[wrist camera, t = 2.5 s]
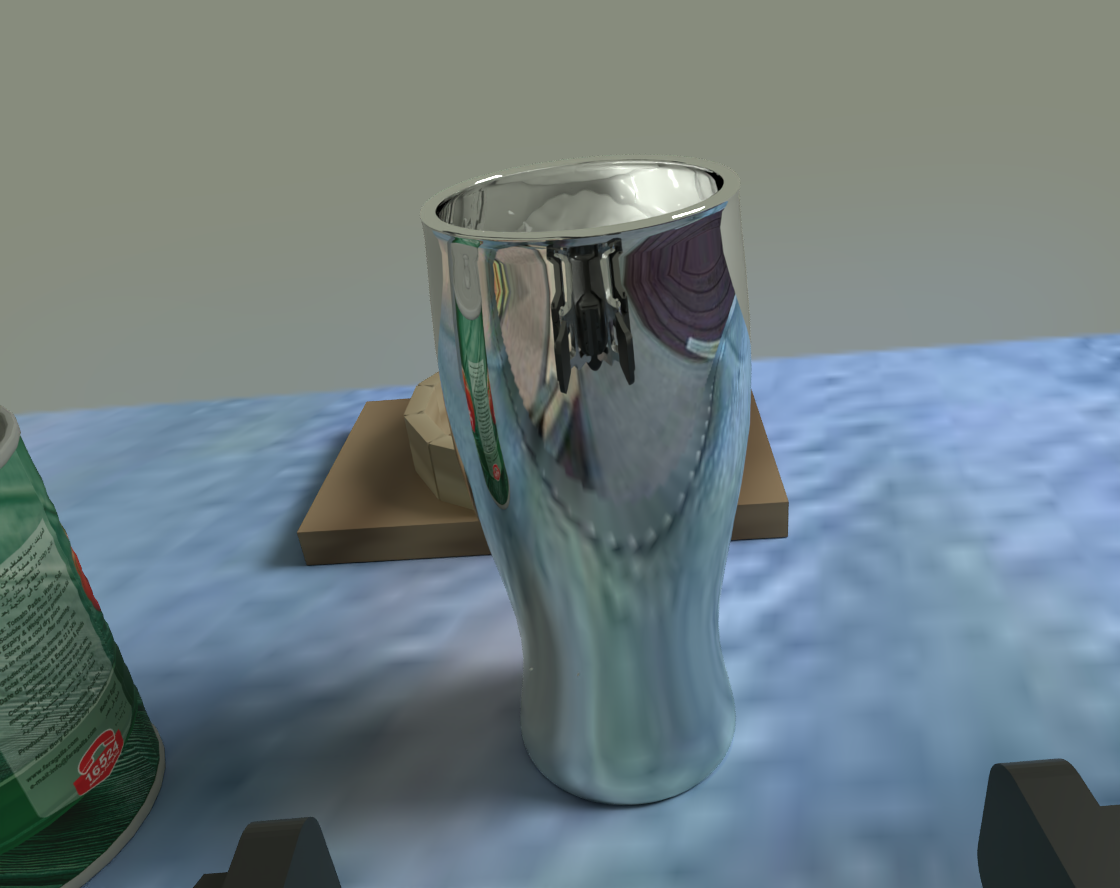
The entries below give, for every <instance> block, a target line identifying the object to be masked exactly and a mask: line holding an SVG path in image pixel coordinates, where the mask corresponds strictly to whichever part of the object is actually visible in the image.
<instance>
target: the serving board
mask: <svg viewBox="0 0 1120 888" xmlns="http://www.w3.org/2000/svg"><path fill="white" fill-rule="evenodd" d="M788 507H789V502H788V498H787V495H786V492H785V489H784V486H783V483H782V480H781V477H780V474H779V471H778V468H777V465H776V462H775V459H774V456H773V453H772V450H771V447H770V444H769V441H768V438H767V435H766V432H765V429H764V426H763V423H762V420H761V417H760V414H759V411H758V408H757V405H756V402H755V399H754V396H753V393H752V390H751V404H750V427H749V435H748V442H747V450H746V457H745V465H744V472H743V479H742V485H741V490H740V495H739V500H738V506H737V511H736V516H735V521H734V527H733V532H732V537H731V540H740V539H757V538H774V537H788ZM297 534H298V538H299V541H300V544H301V548H302V551H303V554H304V558H305V561H306V564H307V565H317V564H333V563H350V562H367V561H384V560H401V559H418V558H435V557H452V556H469V555H486V554H491V552H490V549H489V547H488V544H487V542H486V539H485V537H484V534H483V531H482V529H481V526H480V524H479V521H478V519H477V516H476V513H475V511H474V508H473V506H472V503H471V500H470V497H469V494H468V491H467V488H466V485H465V482H464V479H463V475H462V472H461V469H460V466H459V463H458V460H457V457H456V454H455V450H454V446H453V441H452V437H451V432H450V428H449V423H448V419H447V414H446V410H445V405H444V401H443V395H442V389H441V382H440V375H439V372H437V373H435V374H434V375H432V376H431V377H429V378H427V379H426V380H424V381H423V382H421V383H419V384H418V386H416V388H415V390H414V393H413V395H412V397H411V398H410V399H397V400H383V401H370V402H366V404H365V406H364V408H363V410H362V411H361V413H360V415H359V417H358V419H357V421H356V423H355V425H354V426H353V428H352V430H351V432H350V434H349V436H348V438H347V440H346V441H345V443H344V445H343V447H342V449H341V451H340V453H339V455H338V457H337V458H336V460H335V462H334V464H333V466H332V468H331V470H330V472H329V473H328V475H327V477H326V479H325V481H324V483H323V485H322V487H321V488H320V490H319V492H318V494H317V496H316V498H315V500H314V502H313V503H312V505H311V507H310V509H309V511H308V513H307V515H306V517H305V518H304V520H303V522H302V524H301V526H300V528H299V530H298V532H297Z"/></svg>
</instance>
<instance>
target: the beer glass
mask: <svg viewBox="0 0 1120 888" xmlns="http://www.w3.org/2000/svg"><path fill="white" fill-rule="evenodd" d="M739 189H740V179H739V176H738V175H737V173H736V172H735V171H733V170H732V169H731V168H729V167H726V166H725V165H722V164H719V163H716V162H713V161H709V160H705V159H700V158H693V157H686V156H674V155H655V154H653V155H652V154H633V155H632V154H629V155H607V156H593V157H582V158H572V159H563V160H556V161H549V162H542V163H536V164H531V165H526V166H520V167H515V168H510V169H506V170H501V171H497V172H493V173H490V174H486V175H482V176H479V177H476V178H472V179H469V180H466V181H464V182H461V183H458V184H456V185H453V186H451V187H449V188H447V189H444V190H443V191H441V192H439V193H437V194H436V195H434V196H433V197H431V198H430V199H429V200H427V201H426V202H425V203H424V205H423V206H422V208H421V211H420V219H421V222H422V225H423V231H424V238H425V248H426V257H427V269H428V281H429V293H430V304H431V313H432V322H433V331H434V340H435V349H436V355H437V362H438V368H439V375H440V382H441V389H442V395H443V401H444V405H445V410H446V414H447V419H448V423H449V428H450V432H451V437H452V441H453V446H454V450H455V454H456V457H457V460H458V463H459V466H460V469H461V472H462V475H463V479H464V482H465V485H466V488H467V491H468V494H469V497H470V500H471V503H472V506H473V508H474V511H475V513H476V516H477V519H478V521H479V524H480V526H481V529H482V531H483V534H484V537H485V539H486V542H487V544H488V547H489V549H490V552H491V554H492V557H493V559H494V562H495V564H496V567H497V569H498V571H499V574H500V576H501V579H502V581H503V584H504V586H505V589H506V592H507V594H508V597H509V600H510V603H511V605H512V608H513V611H514V614H515V616H516V620H517V624H518V629H519V633H520V637H521V643H522V652H523V679H522V692H521V708H520V724H521V733H522V738H523V742H524V745H525V748H526V750H527V752H528V754H529V756H530V758H531V760H532V761H533V763H534V764H535V766H536V767H537V768H538V769H539V770H540V772H541V773H542V774H543V775H544V776H545V777H546V778H548V779H549V780H550V781H551V782H553V783H554V784H555V785H557V786H558V787H560V788H562V789H563V790H565V791H567V792H569V793H571V794H573V795H576V796H578V797H581V798H584V799H587V800H590V801H594V802H599V803H605V804H615V805H635V804H645V803H651V802H656V801H660V800H664V799H667V798H670V797H673V796H676V795H678V794H680V793H683V792H685V791H687V790H689V789H690V788H692V787H694V786H695V785H697V784H698V783H700V782H701V781H703V780H704V779H705V778H706V777H707V776H709V775H710V774H711V773H712V772H713V771H714V770H715V769H716V768H717V766H718V765H719V764H720V763H721V761H722V760H723V758H724V757H725V755H726V753H727V752H728V750H729V747H730V745H731V742H732V739H733V736H734V732H735V726H736V711H735V702H734V697H733V692H732V688H731V684H730V681H729V677H728V673H727V669H726V666H725V662H724V658H723V654H722V649H721V644H720V635H719V605H720V595H721V589H722V583H723V577H724V571H725V566H726V561H727V556H728V551H729V546H730V541H731V537H732V532H733V527H734V521H735V516H736V511H737V506H738V500H739V495H740V490H741V485H742V479H743V472H744V465H745V457H746V450H747V442H748V435H749V427H750V404H751V375H752V364H751V338H750V337H751V336H750V313H749V300H748V288H747V275H746V263H745V254H744V244H743V234H742V224H741V211H740V194H739Z"/></svg>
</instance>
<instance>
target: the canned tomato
mask: <svg viewBox="0 0 1120 888" xmlns="http://www.w3.org/2000/svg"><path fill="white" fill-rule="evenodd" d="M20 434H21V431H20V428H19V425H18V423H17V420H16V417H15V416H14V414H13V413H11V412H10V411H9V410H7V409H6V408H4V407H3V406H1V405H0V888H80V887H81V886H83V885H84V884H85V883H87V882H88V881H89V880H90V879H91V878H92V877H93V876H95V875H96V874H97V873H98V872H99V871H100V870H101V869H102V868H104V867H105V866H106V865H107V864H108V863H109V862H110V861H112V859H113V858H114V857H115V856H116V855H117V854H118V853H119V852H120V850H121V849H122V848H123V847H124V846H125V845H126V844H127V843H128V841H129V840H130V839H131V838H132V837H133V836H134V834H135V833H136V831H137V830H138V828H139V827H140V825H141V824H142V822H143V821H144V820H145V818H146V817H147V815H148V814H149V812H150V811H151V808H152V806H153V804H154V802H155V800H156V797H157V795H158V793H159V791H160V788H161V785H162V780H163V776H164V771H165V750H164V745H163V742H162V740H161V738H160V735H159V733H158V730H157V729H156V727H155V726H154V725H153V724H152V723H151V721H150V719H149V717H148V715H147V712H146V710H145V708H144V705H143V702H142V699H141V697H140V694H139V692H138V689H137V687H136V686H135V685H134V683H133V680H132V677H131V675H130V672H129V670H128V667H127V666H126V664H125V663H124V660H123V658H122V655H121V653H120V650H119V648H118V645H117V644H116V643H115V641H114V638H113V636H112V633H111V631H110V628H109V626H108V624H107V622H106V621H105V619H104V617H103V614H102V611H101V609H100V606H99V604H98V601H97V600H96V599H95V597H94V595H93V592H92V589H91V587H90V584H89V582H88V579H87V578H86V576H85V575H84V573H83V571H82V568H81V565H80V563H79V560H78V557H77V555H76V554H75V552H74V551H73V549H72V547H71V545H70V541H69V538H68V536H67V533H66V531H65V529H64V528H63V526H62V525H61V523H60V521H59V518H58V515H57V512H56V509H55V507H54V504H53V503H52V502H51V500H50V499H49V497H48V495H47V492H46V488H45V486H44V483H43V481H42V478H41V476H40V474H39V473H38V471H37V469H36V467H35V465H34V463H33V461H32V459H31V457H30V455H29V453H28V451H27V449H26V447H25V445H24V442H23V440H22V438H21V436H20Z"/></svg>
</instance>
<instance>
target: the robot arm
mask: <svg viewBox="0 0 1120 888" xmlns="http://www.w3.org/2000/svg"><path fill="white" fill-rule="evenodd" d="M977 857H978V866H979V873H980V878H981V882H982V886H983V888H1120V805H1110V806H1100V805H1099V804H1098V802H1097V801H1096V799H1095V798H1094V796H1093V795H1092V793H1091V792H1090V790H1089V789H1088V787H1087V786H1086V784H1085V782H1084V781H1083V779H1082V778H1081V776H1080V775H1079V773H1078V772H1077V771H1076V769H1075V768H1074V767H1073V766H1072V765H1071V764H1070V763H1069V762H1068V761H1066V760H1064V759H1047V760H1034V761H1022V762H1010V763H998V764H994V765H993V766H992V768H991V770H990V774H989V780H988V786H987V792H986V798H985V805H984V811H983V817H982V823H981V829H980V836H979V842H978V850H977ZM193 888H341V885H340V882H339V879H338V876H337V873H336V871H335V868H334V865H333V862H332V859H331V856H330V854H329V851H328V848H327V845H326V842H325V839H324V837H323V834H322V831H321V828H320V825H319V823H318V821H317V820H316V819H315V818H314V817H304V818H292V819H280V820H267V821H255V822H251V823H250V824H249V825H248V826H247V827H246V828H245V830H244V831H243V833H242V836H241V838H240V840H239V843H238V846H237V849H236V851H235V854H234V857H233V860H232V862H231V865H230V868H229V871H228V872H225V873H212V874H204V875H203V876H202V877H201V879H200V880H199V881H198V882H197V884H196V885H195V886H194V887H193Z"/></svg>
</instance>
